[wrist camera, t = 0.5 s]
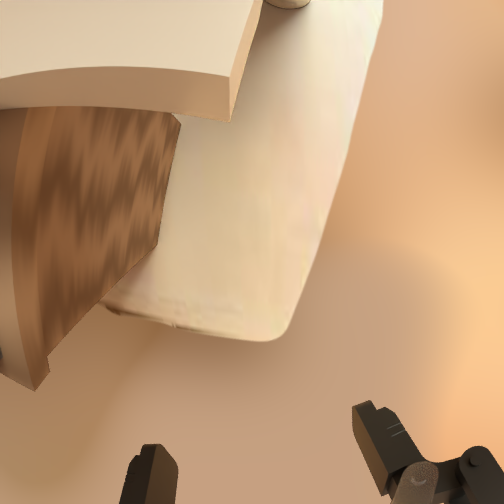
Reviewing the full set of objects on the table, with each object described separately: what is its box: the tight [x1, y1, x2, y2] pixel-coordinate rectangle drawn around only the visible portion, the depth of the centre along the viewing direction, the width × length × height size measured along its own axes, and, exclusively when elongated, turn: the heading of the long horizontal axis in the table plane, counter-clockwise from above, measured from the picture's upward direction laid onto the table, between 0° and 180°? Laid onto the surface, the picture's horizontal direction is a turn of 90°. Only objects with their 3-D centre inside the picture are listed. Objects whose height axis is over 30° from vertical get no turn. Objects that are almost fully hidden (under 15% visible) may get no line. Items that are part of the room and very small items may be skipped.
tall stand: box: [0, 106, 181, 391], centre depth 22 cm, size 19×11×34 cm, turn 167°
